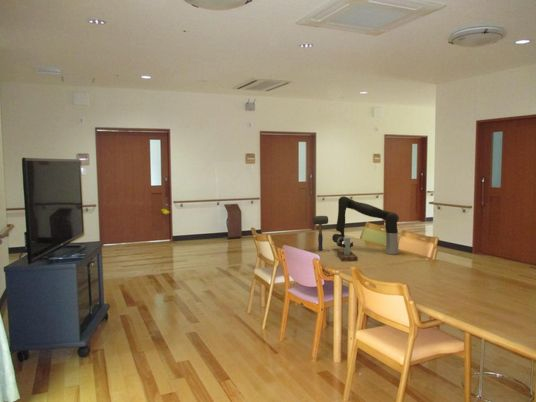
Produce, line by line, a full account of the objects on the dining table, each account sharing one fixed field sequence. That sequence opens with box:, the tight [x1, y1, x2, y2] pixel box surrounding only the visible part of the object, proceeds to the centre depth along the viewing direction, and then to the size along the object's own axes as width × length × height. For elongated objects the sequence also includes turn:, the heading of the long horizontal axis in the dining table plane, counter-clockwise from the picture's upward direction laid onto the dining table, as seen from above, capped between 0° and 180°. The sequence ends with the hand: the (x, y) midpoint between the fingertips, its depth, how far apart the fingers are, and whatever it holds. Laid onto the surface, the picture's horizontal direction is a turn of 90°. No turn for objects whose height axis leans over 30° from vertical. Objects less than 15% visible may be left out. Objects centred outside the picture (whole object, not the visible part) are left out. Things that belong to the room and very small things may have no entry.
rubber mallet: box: [312, 215, 329, 252], centre depth 356 cm, size 12×8×30 cm, turn 101°
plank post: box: [343, 236, 351, 255], centre depth 329 cm, size 4×5×15 cm
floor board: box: [336, 250, 359, 262], centre depth 329 cm, size 12×20×3 cm, turn 2°
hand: (347, 246), depth 326 cm, fingers closed on plank post, 4 cm apart
